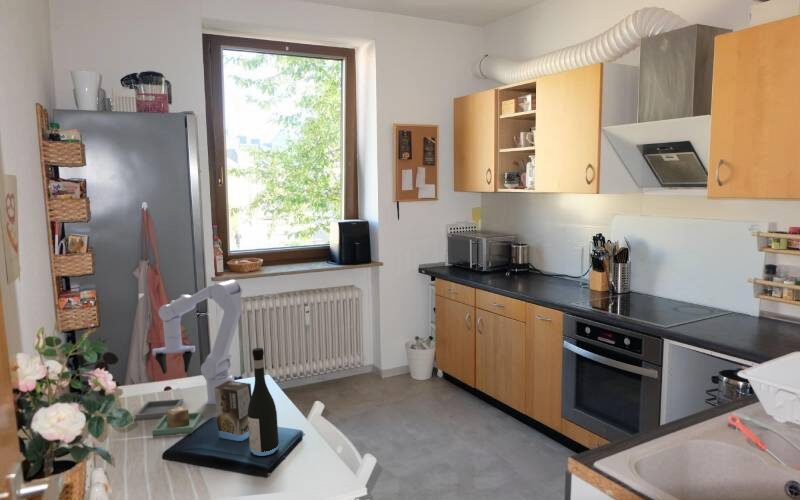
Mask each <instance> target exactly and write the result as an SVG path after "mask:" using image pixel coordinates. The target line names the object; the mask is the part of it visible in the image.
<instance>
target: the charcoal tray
mask: <svg viewBox="0 0 800 500" xmlns="http://www.w3.org/2000/svg"><path fill="white" fill-rule="evenodd" d="M183 404H184V398H175V399H163V400H150V401H146V402H145V403H144V404H143V406H142V407H141V408H140V409H139V410H138V411H137V412H136V413H135V415H134V419H135V420H145V419H146V420H147V419H148V420H150V419H159V418H160V419H162V418H163V416H164V415H166V411H167V410H170V409H173V408H176V407H179V406H183Z"/></svg>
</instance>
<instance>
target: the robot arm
mask: <svg viewBox="0 0 800 500" xmlns="http://www.w3.org/2000/svg"><path fill="white" fill-rule="evenodd" d="M242 294H243V289H242V287H241V285H240V283H239V282H238V280H235V279H228V280H226V281H222V282H219V283H217V282H216V283H214V284H212V285H208V286H206V287H204V288H202V289H200V290H198V291H197V292H195V293H194V294H192V295H191V294H190V295H189V294H185V293H184V294H180V296H179V298H177V299H175V300H170V303H168V304H162V305H161V306H160V308H159V309H158V316H159V318H160V320H162V324H163V337H164V347H158V348H153V349H152V356H155V360H156V361H157V363H158V364H159V366H160V368H161V371H162V374H163V375H165V374H166V373H167V372H168V369H167V368H168V367H167V354H182V353H183V354H182V359H183V363H184V365H183V366H184V367H183V368H184V372H185V373H187V372H189V368H190V367H189V366H190V362H191V358H192V356H193V353H195V352H196V345H183V341H182V340H183V339H182V327H181V321H182V316H183V315H184V314H186V313H189V312H191V311H192V310H194V309H195V308H196V307H197V304H198V303H201V302H202V301H205V300H206V299H207V300H208V299H209V300H213V301H214V302H215V303H216V304H217V305H218V306H219V307H220V308H221V309H222V310H223V315H222V318H221V322H220V324H219V328H218V332H217V335H216V338H215V341H214V345H213V346H212V347H213V348H212V349H211V350H212V351H211V352H210V353H208V355H207V356H206V358H205V361H204V362H203V363H202V364H201V366H200V373H201V375H202V377H203V378H204V380H205V382H206V383H205V384H206V392H207V393H206V396H207V399H206V400H205V402H204V405H216V402H215V390H214V388H215V387H217V386H219V385H221V384H223V383H225V382H227V381H233V382H236V381H235V376H234V375H232V374H231V375H229V374H228V373H229V370H230V368H231V365H232V364H231V357H232V355H231V353H229V352H230V348H231V345H232V342H233V339H234V336H235V332H236V329H237V326H238V323H239V320H240V317H241V314H242V310H243V305H242V304H243V303H242Z"/></svg>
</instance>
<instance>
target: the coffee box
mask: <svg viewBox="0 0 800 500" xmlns="http://www.w3.org/2000/svg"><path fill="white" fill-rule="evenodd" d="M214 390H215V402H216V404H215V411H216V413H215V414H216V422H217V431H218V430H219V431H223V432H228V433H232V434H236V435H243V434H244V433H246V432H248V431H249V428H248V406H249V402H250V399H251V396H252V383H248V382H242V381H235V382H233V381H227V382H225V383H223V384H221V385H219V386H217V387H215V388H214Z"/></svg>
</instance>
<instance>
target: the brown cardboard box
mask: <svg viewBox="0 0 800 500" xmlns="http://www.w3.org/2000/svg"><path fill="white" fill-rule="evenodd" d="M189 413H190V412H189V409H188V408H186V407H184V406H183V405H181V406H179V407H176V408H173V409H170V410H167V411H166V416H167V426H169V427H170V428H176V427H184V426H187V425H189Z"/></svg>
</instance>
